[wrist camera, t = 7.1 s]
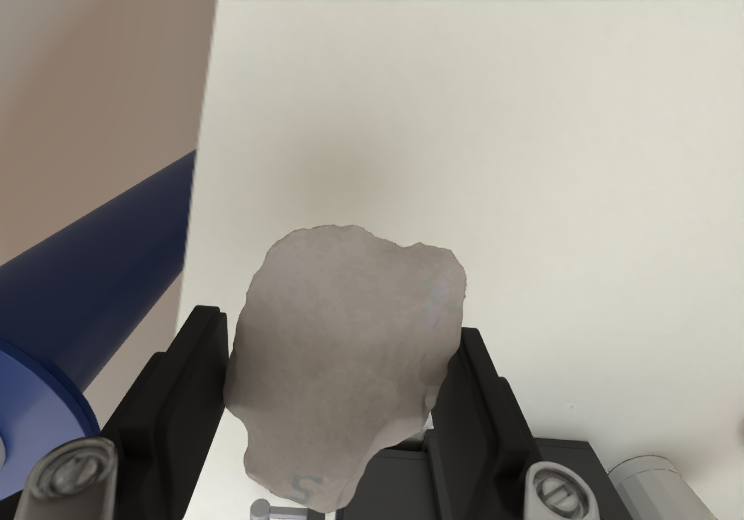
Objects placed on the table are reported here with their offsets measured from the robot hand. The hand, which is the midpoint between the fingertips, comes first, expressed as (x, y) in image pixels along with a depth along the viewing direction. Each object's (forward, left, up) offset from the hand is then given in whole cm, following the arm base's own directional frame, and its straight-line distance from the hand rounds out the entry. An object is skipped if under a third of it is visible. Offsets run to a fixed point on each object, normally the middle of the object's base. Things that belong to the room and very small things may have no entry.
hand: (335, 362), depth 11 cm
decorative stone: (0, 0, -1) cm, 1 cm away
